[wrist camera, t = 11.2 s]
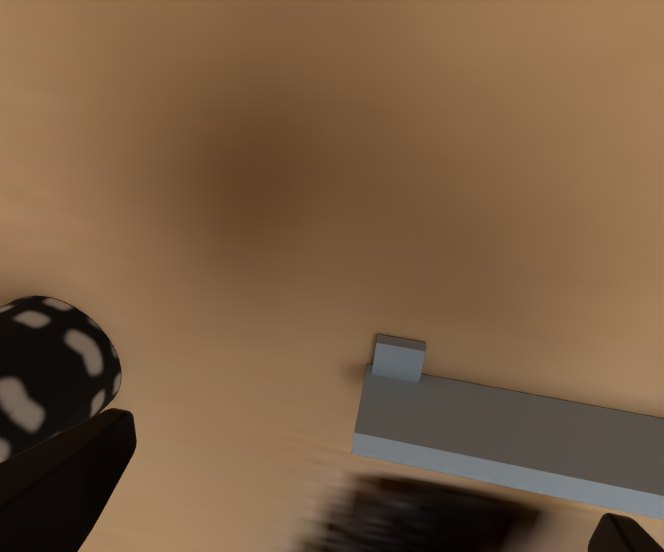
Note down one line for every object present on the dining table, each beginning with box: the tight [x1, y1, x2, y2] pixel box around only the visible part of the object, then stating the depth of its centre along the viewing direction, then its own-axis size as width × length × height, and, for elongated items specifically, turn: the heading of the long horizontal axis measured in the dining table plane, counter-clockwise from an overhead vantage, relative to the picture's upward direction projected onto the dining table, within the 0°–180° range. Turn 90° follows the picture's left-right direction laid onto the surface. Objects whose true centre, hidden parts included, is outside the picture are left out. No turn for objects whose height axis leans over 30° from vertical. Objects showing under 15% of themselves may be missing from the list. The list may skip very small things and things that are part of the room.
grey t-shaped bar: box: [351, 334, 664, 520], centre depth 20 cm, size 18×5×5 cm, turn 85°
